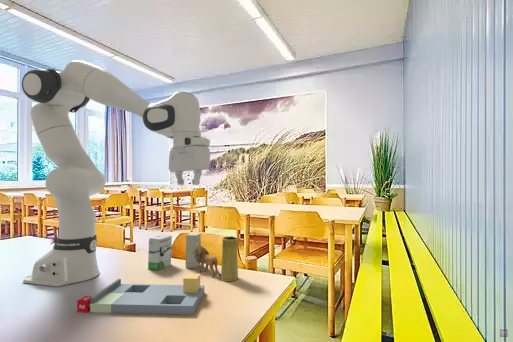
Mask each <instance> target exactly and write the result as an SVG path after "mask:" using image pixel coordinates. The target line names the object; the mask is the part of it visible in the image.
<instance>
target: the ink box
mask: <svg viewBox="0 0 513 342" xmlns="http://www.w3.org/2000/svg"><path fill="white" fill-rule="evenodd" d="M172 243H173V242H172V235H169V234H168V235H167V234H160V235H156V236H155V235H154V236H152V237H149V238H148V259H147V260H148V261H147V263H148V264H147V265H148V266H147V268H148V269H147V270H153V271H154V270H155V271H160V270H161V269H164V268H166V267H168V266H170V265H171V264H172Z"/></svg>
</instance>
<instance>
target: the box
mask: <svg viewBox="0 0 513 342" xmlns="http://www.w3.org/2000/svg"><path fill="white" fill-rule="evenodd" d="M201 236H202V235H201V233H200V232H197V233H196V232H191V233H187V234H186V235H185V268H187V269H197V268H198V267H199V266H201V262H199V260H198V259H197V257H194V255H193V252H195V250H196V249H197V247H198V246H201V240H202V239H201V238H202V237H201Z"/></svg>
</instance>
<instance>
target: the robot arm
mask: <svg viewBox="0 0 513 342" xmlns="http://www.w3.org/2000/svg"><path fill="white" fill-rule="evenodd" d="M21 88H22V92H23V94H24V95H25V96H26V97H27V98H29V99H30V100H33V101H35V102H36V104H34V105H33V106H32V107H31V109H30V116H31V121H32V125H33V128H34V130H35V133H36V136H37V138H38V140H39V143H40V145H41V147H42V149H43V151H44V153H45V155H46V157H47V159H49V161H51V162H52V163H53V164H55V166H56V167H57V168H54V169H52V170H51V171H49V173H48V174H47V176H46V177H45V182H44V183H45V188H46V190H47V191H48V193H49V194H50V195H52V198H53V199H54V202H55V203H54V204H55V206H56V209H57V213H58V237H56V238H55V239H53V240H50V245H53V244H54V245H53V247H52V249H50V250H49V251H48V252H46V253H45V254H44V255H42V257H40V258H38V259H37V260H36V261H35V263H34V265H33V268H32V273H30V274H29V275H27V276H26V277H24V278H23V281H22V283H23V284H25V283H26V284H32V285H33V284H34V285H42V286H51V287H61V286H66V285H69V284H76V283H79V282H80V283H81V282H84V281H88V280H91V279H93V278H95V277H97V276H99V275H100V270H99V266H98V261H97V260H98V259H97V253H96V252H97V251H96V250H97V246H98V245H97V244H98V240H97V239H98V238H97V234H96V228H97V227H96V224H97V223H96V219H97V218H96V217H97V214H96V212H95V210H94V209H93V206H92V203H91V200H90V196H93V195H96V194H98V193H99V192H101V191H102V190H103V189H104V187H105V185H106V178H105V175H104V173H102V171H100V170H99V169H98V168H97V166H96V165H95V163H94V162H93V160H92V159H91V158H90V156H89V155H88V153H87V151H85V149H84V147H83V145H82V144H81V143H82V142H80V140H79V137H78V135H77V133H76V131H75V129H74V127H73V125H72V122H71V120H70V118H69V113H77V112H78V111H79V110H80V109H81V108H84V107H85V106H86V105H88V103H89V102H90V100H91V101H93V102H96V103H98V104H101V105H104V106H105V107H106V106H107V107H111V108H115V109H118V110H121V111H126V112H128V113H132V114H134V115H136V116H138V117H140V118H142V121H143V124H144V126H145V128H146V129H147V130H149V131H150V132H151V131H152V132H153V133H155V134H158V135H162V136H165V137H166V138H169V139H172V142H173V143H172V148H171V150H170V151H169V155H168V170H169V172H173V173H174V174H175V178H176V180H177V182H176V183H177V185H179V186H182V185H185V179H184V178H183V175H184V173H183V172H187V171H188V172H191V171H193V174H194V175H193V179H191V180H192V181H191V182H192V183H191V184H192V185H193V186H199V185H200V183H201V182H200V180H201V177H202V172H203V171H206V170H208V169H209V168H210V164H211V152H210V151H211V150H210V148H209V147H210V146H211V145H210V144H211V141H210V138H207V137H203V136H201V135H202V133H201V129H200V124H201V109H200V101H199V99H198V97H196V96H195V95H194V94H192V93H189V92H186V91H176V92H174V93H173V94H172V96H170V97H169V98H166V99H164V100H161V101H159V102H154V103H152V102H150V101H148V100H146V99H144V98H143V97H142V96H140V95H139V94H137V93H136V92H135V91H134V90H132V88H130V87H129V86H127V85H126V84H125V82H122V81H121V80H120V79H119V78H118V77H117V76H115V75H113V74H112V73H110V72H109V71H107V70H105V69H104V68H102V67H100V66H97V65H96V64H95V65H94V64H92V63H90V62H86V61H84V60H80V59H79V60H78V59H77V60H72V61H69V62H68V63H67V64H66V65H65V67H64V69H63V70H62V71H56V69H54V68H45V69H41V68H40V69H31V70H28V71H27V72H26V73H24V75H23V77H22V80H21Z"/></svg>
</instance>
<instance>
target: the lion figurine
mask: <svg viewBox="0 0 513 342" xmlns="http://www.w3.org/2000/svg"><path fill="white" fill-rule="evenodd" d="M193 255H194V257H197V259H198V260H199V262H200V266H201V269H200V270H199V273H203V272H205V271H208V270H209V269H210V271H211V272H212V275H211V278H215V277H216V275H218V276H219V277H221V272H220V271H219V269H218V264H219V263H218V258H217V256H216V255H211V254H210V253H209V251H208V250H207V249H206V248H205V247H203V246H198V247H197V249H196V250H195V252H193ZM204 266H205V267H204ZM214 268H215V269H214Z"/></svg>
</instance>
